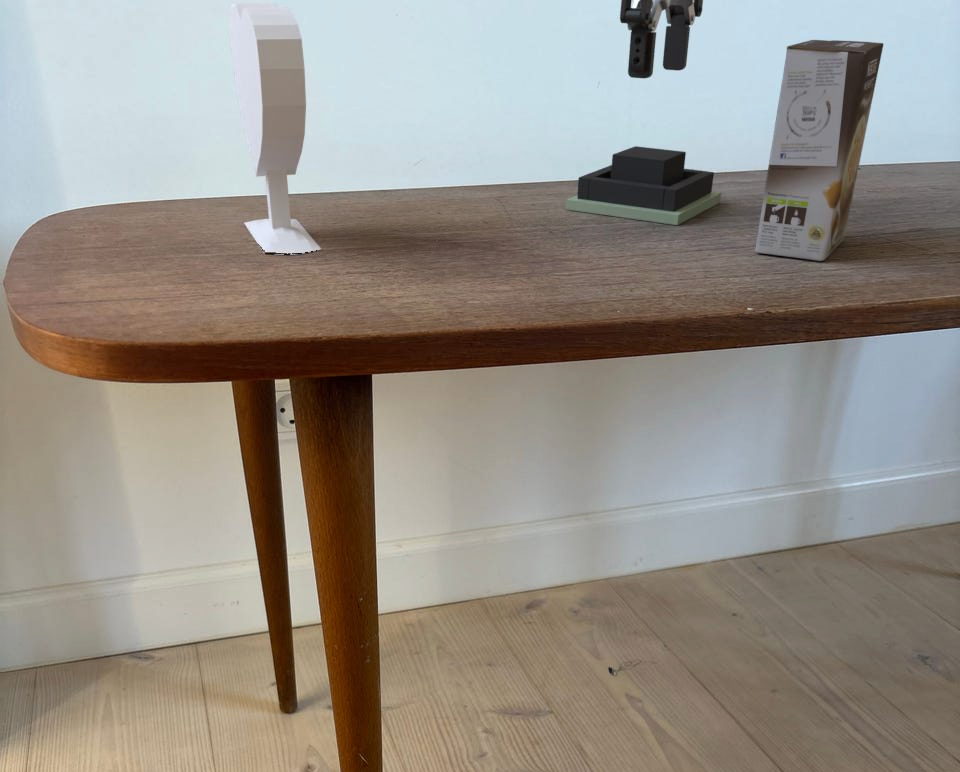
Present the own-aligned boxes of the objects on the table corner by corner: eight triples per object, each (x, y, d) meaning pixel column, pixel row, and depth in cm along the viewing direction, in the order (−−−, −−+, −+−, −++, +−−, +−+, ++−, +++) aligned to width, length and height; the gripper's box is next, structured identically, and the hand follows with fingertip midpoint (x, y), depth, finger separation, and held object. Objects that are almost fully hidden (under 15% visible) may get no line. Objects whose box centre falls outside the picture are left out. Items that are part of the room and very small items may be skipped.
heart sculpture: (326, 255, 91) (310, 12, 80) (268, 259, 89) (244, 12, 79) (292, 214, 103) (274, -1, 92) (240, 218, 101) (217, -1, 91)
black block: (681, 194, 108) (686, 151, 106) (660, 204, 104) (665, 160, 102) (631, 187, 111) (635, 146, 108) (608, 197, 107) (612, 154, 104)
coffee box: (826, 263, 91) (867, 50, 81) (752, 253, 93) (784, 45, 84) (845, 239, 97) (885, 41, 88) (776, 231, 100) (808, 37, 91)
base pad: (720, 202, 110) (724, 171, 108) (677, 225, 101) (681, 192, 99) (615, 188, 115) (617, 159, 113) (565, 209, 106) (567, 177, 104)
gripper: (687, -142, 85) (666, 83, 94) (744, -133, 95) (720, 69, 105) (603, -140, 88) (590, 78, 97) (666, -132, 99) (650, 65, 108)
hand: (657, 73), depth 101 cm, fingers open, 8 cm apart
